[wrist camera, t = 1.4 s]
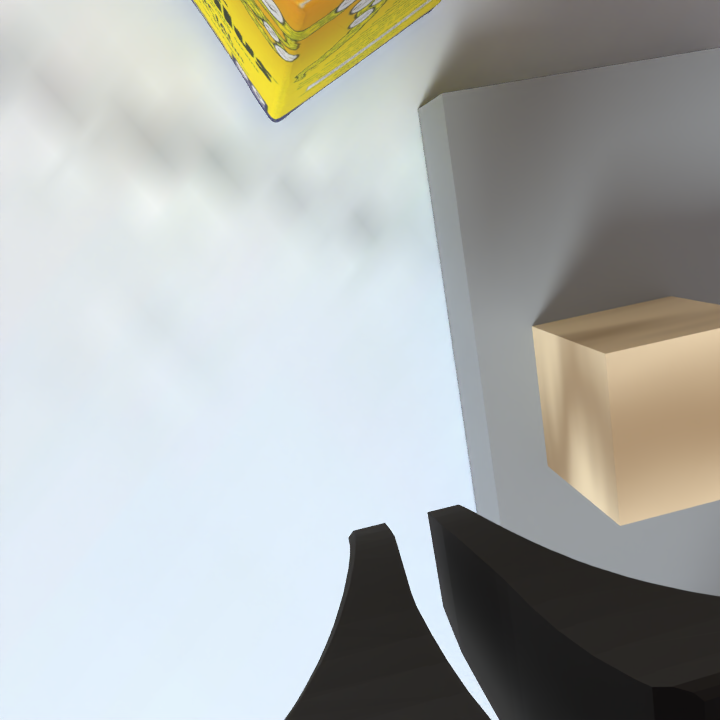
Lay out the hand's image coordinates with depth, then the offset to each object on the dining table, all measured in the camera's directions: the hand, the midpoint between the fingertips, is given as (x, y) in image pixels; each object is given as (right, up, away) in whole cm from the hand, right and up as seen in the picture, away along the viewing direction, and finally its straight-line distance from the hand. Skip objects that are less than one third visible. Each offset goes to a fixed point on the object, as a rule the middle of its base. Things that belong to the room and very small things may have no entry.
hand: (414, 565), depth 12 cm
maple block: (+7, +3, +8) cm, 11 cm away
